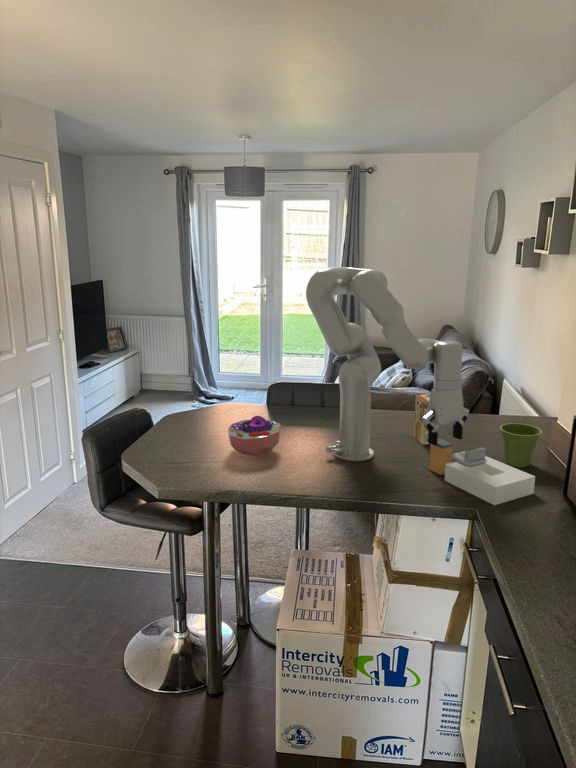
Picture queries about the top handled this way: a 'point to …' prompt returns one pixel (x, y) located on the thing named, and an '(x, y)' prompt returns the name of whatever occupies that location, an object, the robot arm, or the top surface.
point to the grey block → (470, 456)
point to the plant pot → (519, 443)
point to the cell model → (254, 435)
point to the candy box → (420, 412)
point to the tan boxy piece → (440, 456)
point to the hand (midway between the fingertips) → (445, 441)
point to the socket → (490, 480)
